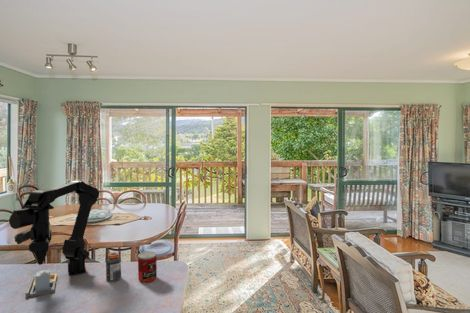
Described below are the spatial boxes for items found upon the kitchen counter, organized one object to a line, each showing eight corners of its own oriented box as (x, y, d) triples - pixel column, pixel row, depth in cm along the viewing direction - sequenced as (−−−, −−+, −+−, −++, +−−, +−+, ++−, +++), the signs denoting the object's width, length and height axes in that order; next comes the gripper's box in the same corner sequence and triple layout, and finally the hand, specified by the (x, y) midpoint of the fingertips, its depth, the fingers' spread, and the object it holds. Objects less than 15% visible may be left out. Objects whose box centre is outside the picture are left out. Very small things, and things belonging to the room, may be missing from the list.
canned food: (142, 285, 120) (142, 259, 120) (135, 278, 126) (135, 253, 126) (159, 279, 125) (159, 254, 125) (151, 273, 131) (151, 249, 131)
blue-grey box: (50, 286, 119) (49, 268, 119) (49, 291, 115) (48, 272, 115) (37, 289, 117) (36, 270, 117) (35, 294, 113) (35, 275, 113)
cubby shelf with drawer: (56, 276, 129) (56, 272, 129) (53, 292, 114) (53, 287, 114) (31, 280, 124) (31, 276, 124) (25, 298, 110) (25, 293, 110)
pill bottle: (106, 277, 127) (105, 252, 127) (120, 275, 130) (120, 250, 129) (106, 283, 122) (105, 257, 121) (121, 280, 124) (120, 254, 124)
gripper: (19, 219, 120) (21, 256, 121) (11, 231, 104) (12, 273, 104) (51, 216, 125) (52, 251, 126) (47, 226, 109) (49, 267, 110)
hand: (41, 260), depth 116 cm, fingers open, 9 cm apart
